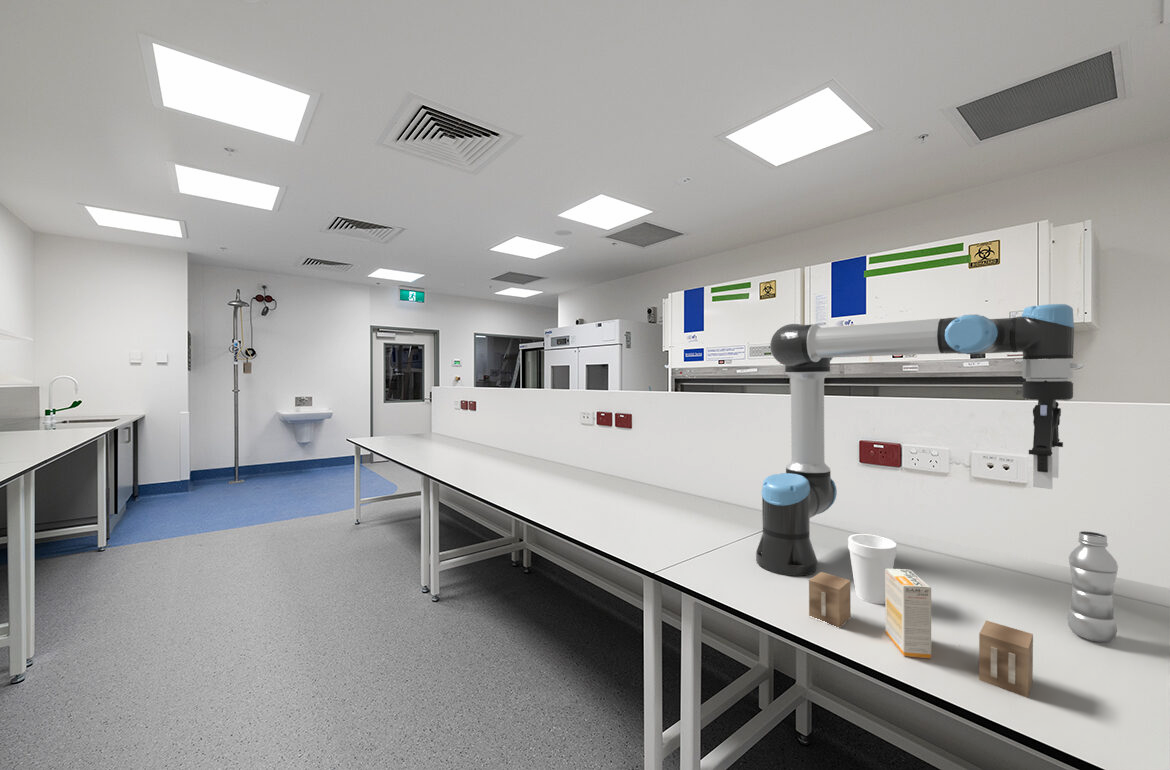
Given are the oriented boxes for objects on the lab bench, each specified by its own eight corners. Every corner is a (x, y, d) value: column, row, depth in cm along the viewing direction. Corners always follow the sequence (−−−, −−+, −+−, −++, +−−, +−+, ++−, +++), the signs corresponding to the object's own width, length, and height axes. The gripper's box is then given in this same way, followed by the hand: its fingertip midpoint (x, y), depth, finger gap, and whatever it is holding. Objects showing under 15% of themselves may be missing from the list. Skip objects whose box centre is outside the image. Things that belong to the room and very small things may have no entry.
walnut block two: (978, 681, 79) (979, 633, 79) (985, 665, 83) (986, 620, 83) (1027, 699, 75) (1028, 649, 74) (1032, 681, 79) (1032, 634, 79)
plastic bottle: (1057, 629, 94) (1058, 529, 93) (1088, 627, 94) (1089, 527, 94) (1094, 648, 87) (1096, 541, 87) (1127, 646, 88) (1129, 539, 87)
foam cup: (880, 611, 102) (879, 551, 102) (839, 593, 110) (839, 538, 110) (905, 600, 106) (905, 543, 106) (864, 584, 115) (864, 531, 114)
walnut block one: (808, 617, 100) (808, 580, 100) (821, 607, 104) (820, 571, 104) (838, 629, 96) (838, 589, 95) (850, 617, 100) (850, 580, 100)
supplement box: (933, 659, 85) (933, 587, 85) (903, 657, 86) (903, 585, 86) (911, 634, 93) (911, 568, 93) (884, 632, 94) (884, 567, 94)
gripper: (1068, 381, 87) (1067, 496, 88) (1076, 378, 104) (1075, 475, 104) (1013, 381, 93) (1013, 489, 93) (1029, 378, 109) (1029, 470, 110)
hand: (1046, 482), depth 99 cm, fingers open, 13 cm apart
